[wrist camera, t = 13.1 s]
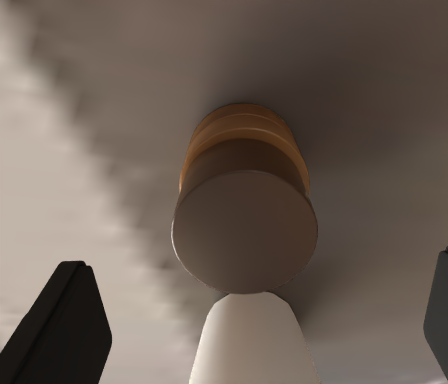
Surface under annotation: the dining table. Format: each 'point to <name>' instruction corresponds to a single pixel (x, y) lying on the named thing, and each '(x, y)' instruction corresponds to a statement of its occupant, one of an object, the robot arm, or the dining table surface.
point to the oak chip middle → (246, 129)
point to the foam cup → (252, 344)
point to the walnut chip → (243, 218)
